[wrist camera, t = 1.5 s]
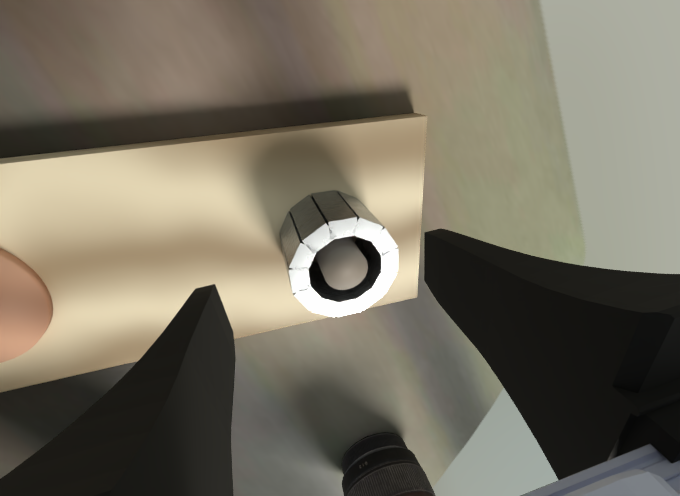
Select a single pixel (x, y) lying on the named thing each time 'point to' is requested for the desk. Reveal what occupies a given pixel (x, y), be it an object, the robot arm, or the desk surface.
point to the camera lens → (383, 469)
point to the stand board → (186, 235)
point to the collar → (320, 229)
